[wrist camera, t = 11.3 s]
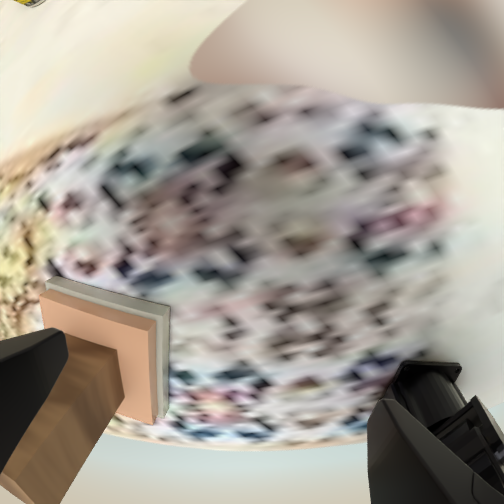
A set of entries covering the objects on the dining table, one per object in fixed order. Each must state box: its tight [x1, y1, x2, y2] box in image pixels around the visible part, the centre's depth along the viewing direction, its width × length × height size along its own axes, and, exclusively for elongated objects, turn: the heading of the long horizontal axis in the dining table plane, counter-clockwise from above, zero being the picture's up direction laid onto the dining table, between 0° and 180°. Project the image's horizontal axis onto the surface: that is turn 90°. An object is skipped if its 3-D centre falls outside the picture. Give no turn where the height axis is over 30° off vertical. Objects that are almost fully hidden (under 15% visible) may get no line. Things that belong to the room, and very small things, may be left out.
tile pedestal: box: [39, 276, 170, 425], centre depth 22 cm, size 11×11×3 cm
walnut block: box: [0, 333, 125, 504], centre depth 14 cm, size 5×5×13 cm
